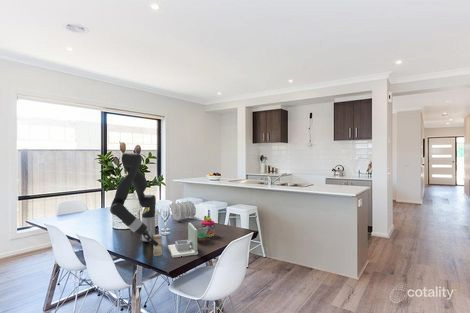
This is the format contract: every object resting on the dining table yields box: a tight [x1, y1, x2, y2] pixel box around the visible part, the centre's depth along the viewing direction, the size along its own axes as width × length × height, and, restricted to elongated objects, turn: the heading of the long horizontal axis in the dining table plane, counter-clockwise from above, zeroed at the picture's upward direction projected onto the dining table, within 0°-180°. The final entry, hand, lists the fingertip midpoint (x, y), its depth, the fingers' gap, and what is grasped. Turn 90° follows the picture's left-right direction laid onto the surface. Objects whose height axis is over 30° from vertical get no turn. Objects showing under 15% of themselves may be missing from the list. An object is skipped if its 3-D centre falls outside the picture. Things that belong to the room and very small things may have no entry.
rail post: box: [152, 233, 163, 257], centre depth 172 cm, size 4×4×12 cm
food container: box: [196, 226, 208, 243], centre depth 198 cm, size 12×6×10 cm, turn 126°
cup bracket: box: [167, 222, 199, 258], centre depth 179 cm, size 20×16×16 cm
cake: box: [200, 215, 216, 238], centre depth 212 cm, size 10×11×15 cm
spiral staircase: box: [168, 200, 197, 222], centre depth 266 cm, size 18×18×25 cm
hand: (156, 243), depth 172 cm, fingers open, 8 cm apart
